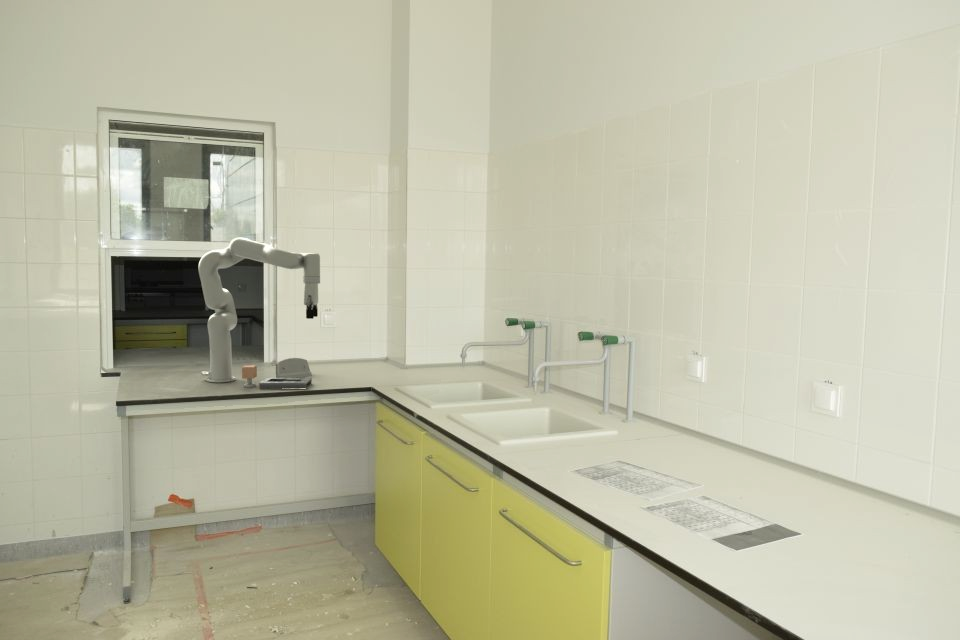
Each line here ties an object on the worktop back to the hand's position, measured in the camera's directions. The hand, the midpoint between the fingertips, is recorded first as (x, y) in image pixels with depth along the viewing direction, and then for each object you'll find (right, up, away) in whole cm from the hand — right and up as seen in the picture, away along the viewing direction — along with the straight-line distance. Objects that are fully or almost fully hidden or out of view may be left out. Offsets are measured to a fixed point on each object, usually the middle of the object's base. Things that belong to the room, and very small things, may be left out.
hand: (311, 317), depth 330 cm
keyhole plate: (-9, -31, -10) cm, 34 cm away
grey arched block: (-13, -29, +16) cm, 35 cm away
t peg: (-25, -31, -10) cm, 41 cm away
